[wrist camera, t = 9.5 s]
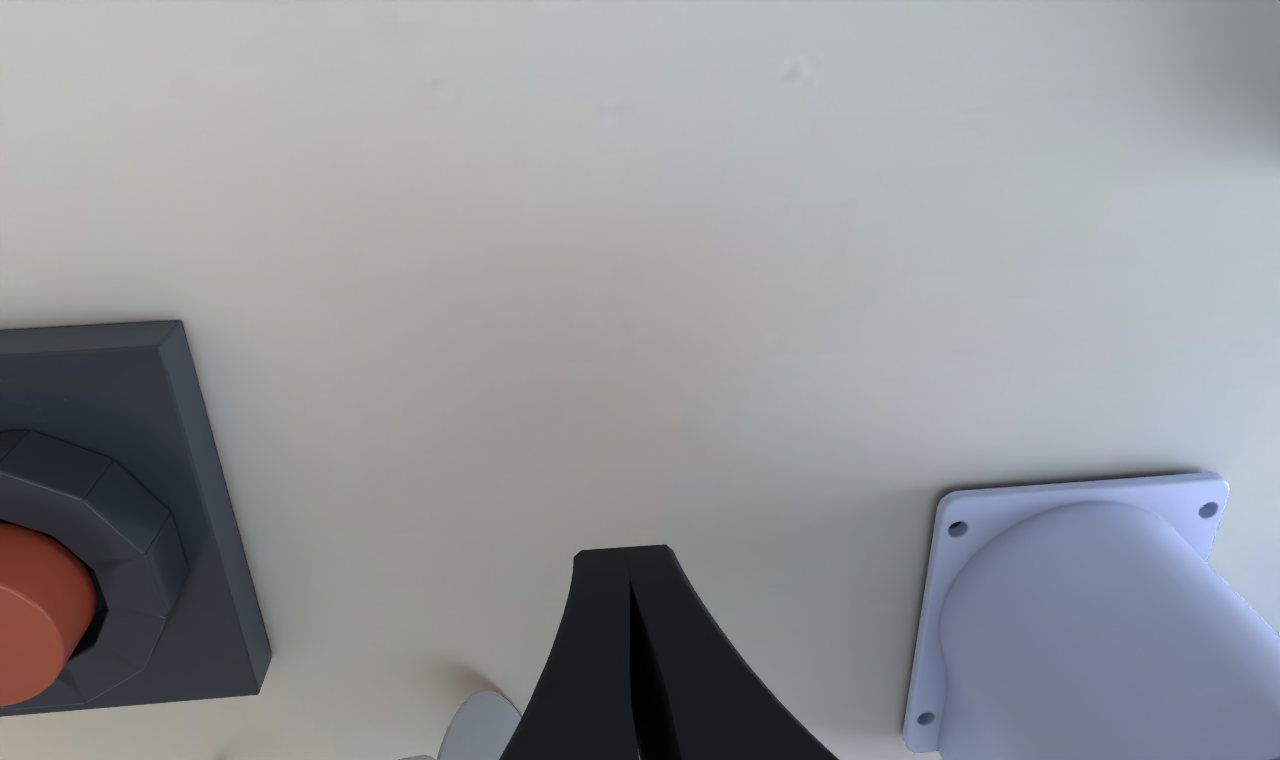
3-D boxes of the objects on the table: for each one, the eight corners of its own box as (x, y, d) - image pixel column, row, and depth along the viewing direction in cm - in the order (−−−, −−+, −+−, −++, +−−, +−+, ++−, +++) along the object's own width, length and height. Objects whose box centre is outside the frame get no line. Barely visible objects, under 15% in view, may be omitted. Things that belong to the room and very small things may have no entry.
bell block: (272, 656, 25) (242, 745, 23) (-37, 681, 25) (-105, 776, 22) (182, 319, 21) (130, 381, 18) (-201, 340, 20) (-312, 408, 18)
